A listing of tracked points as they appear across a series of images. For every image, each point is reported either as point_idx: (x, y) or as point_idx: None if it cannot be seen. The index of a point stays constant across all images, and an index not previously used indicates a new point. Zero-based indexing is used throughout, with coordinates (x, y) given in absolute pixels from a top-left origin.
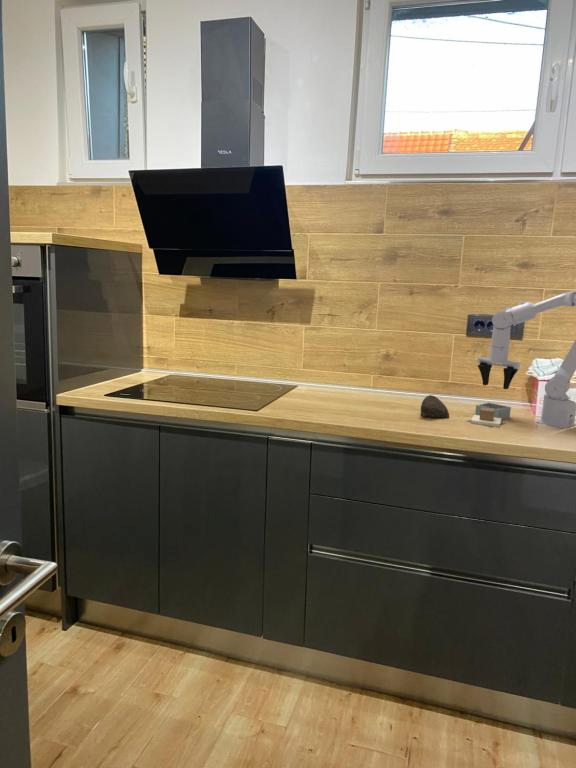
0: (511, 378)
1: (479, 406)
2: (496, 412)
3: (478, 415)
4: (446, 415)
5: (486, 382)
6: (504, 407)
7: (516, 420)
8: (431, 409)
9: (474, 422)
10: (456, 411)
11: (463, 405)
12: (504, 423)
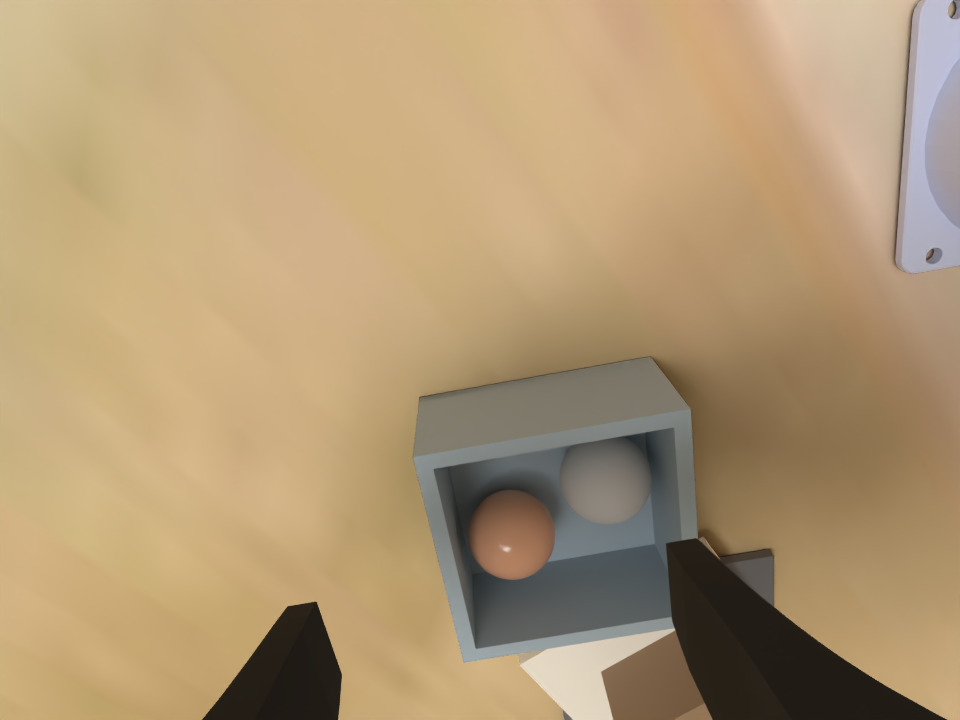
0: (824, 674)
1: (500, 650)
2: None
3: (552, 650)
4: None
5: (321, 676)
6: (618, 426)
7: (723, 344)
8: None
9: None
10: (248, 586)
11: (6, 341)
12: (762, 567)
